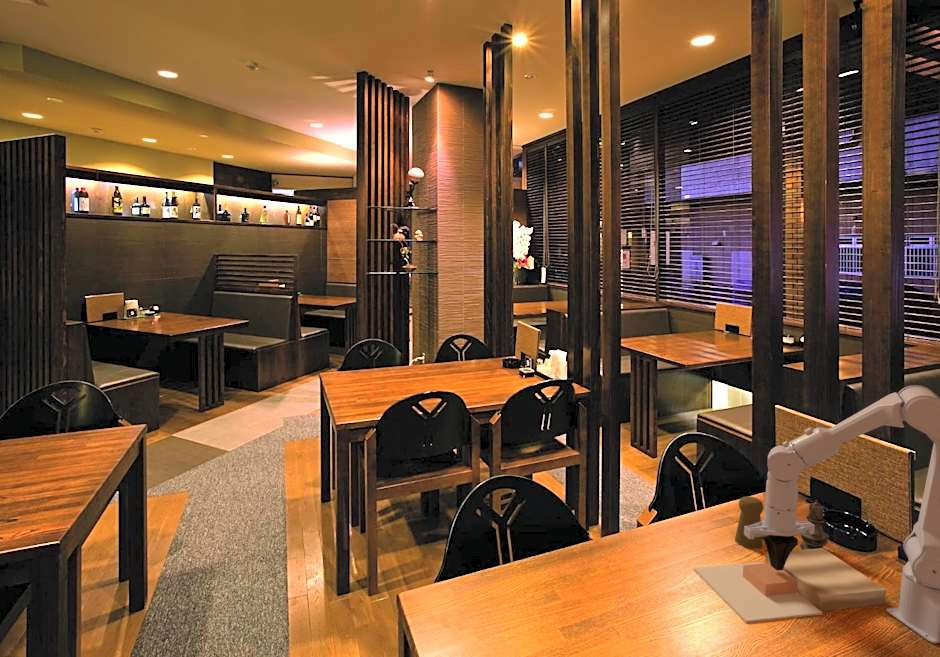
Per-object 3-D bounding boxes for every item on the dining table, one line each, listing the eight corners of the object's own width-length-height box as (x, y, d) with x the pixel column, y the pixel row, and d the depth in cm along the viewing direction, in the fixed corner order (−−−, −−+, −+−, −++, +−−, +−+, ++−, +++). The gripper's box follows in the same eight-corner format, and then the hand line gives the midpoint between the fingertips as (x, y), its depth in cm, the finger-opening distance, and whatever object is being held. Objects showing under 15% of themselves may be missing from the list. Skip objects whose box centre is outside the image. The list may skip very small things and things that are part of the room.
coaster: (796, 592, 112) (797, 581, 111) (765, 596, 111) (765, 584, 110) (772, 573, 119) (773, 562, 118) (742, 576, 118) (743, 565, 117)
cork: (729, 539, 134) (731, 496, 133) (746, 534, 137) (749, 491, 135) (751, 551, 129) (753, 506, 127) (768, 545, 131) (771, 501, 130)
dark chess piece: (832, 556, 126) (836, 506, 125) (804, 553, 127) (807, 504, 126) (821, 543, 132) (825, 495, 130) (794, 541, 133) (798, 493, 131)
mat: (822, 614, 106) (822, 612, 106) (745, 622, 103) (745, 620, 103) (760, 563, 123) (760, 562, 123) (693, 569, 121) (693, 568, 121)
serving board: (884, 603, 109) (886, 589, 108) (820, 610, 107) (821, 596, 106) (822, 560, 124) (822, 548, 124) (765, 565, 122) (766, 553, 122)
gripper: (798, 494, 118) (794, 554, 120) (736, 499, 116) (732, 560, 117) (824, 509, 111) (819, 572, 113) (758, 514, 109) (754, 578, 111)
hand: (776, 567), depth 115 cm, fingers closed
